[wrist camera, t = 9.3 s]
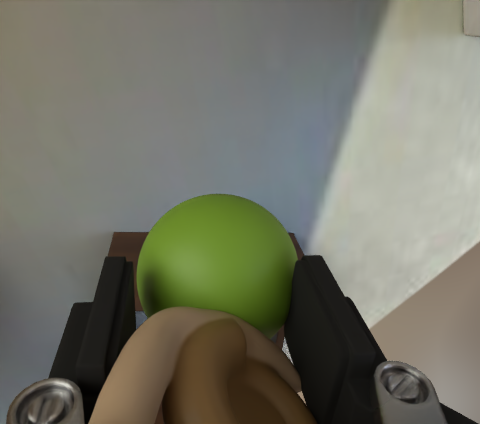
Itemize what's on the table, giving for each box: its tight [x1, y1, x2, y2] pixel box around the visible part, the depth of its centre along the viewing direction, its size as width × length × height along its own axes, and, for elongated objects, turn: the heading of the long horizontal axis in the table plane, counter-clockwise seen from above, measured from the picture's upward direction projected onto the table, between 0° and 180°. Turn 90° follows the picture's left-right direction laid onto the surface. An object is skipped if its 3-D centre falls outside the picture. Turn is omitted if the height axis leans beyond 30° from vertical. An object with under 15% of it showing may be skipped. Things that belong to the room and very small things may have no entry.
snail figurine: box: [88, 194, 317, 424], centre depth 11 cm, size 5×6×12 cm
